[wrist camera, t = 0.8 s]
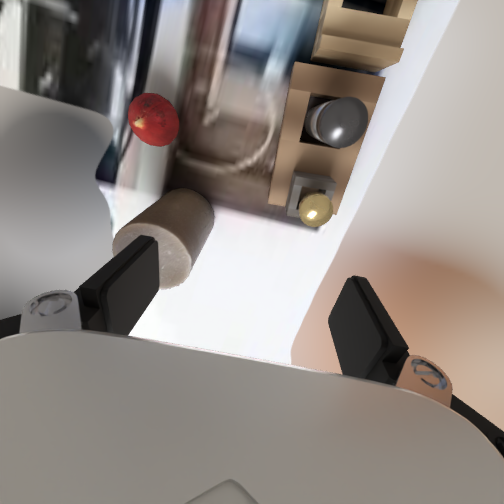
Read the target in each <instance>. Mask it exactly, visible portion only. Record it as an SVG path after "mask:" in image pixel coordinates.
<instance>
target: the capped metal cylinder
mask: <svg viewBox="0 0 504 504" xmlns="http://www.w3.org/2000/svg"><path fill="white" fill-rule="evenodd" d="M367 124H368V111H367V108H366V106H365V104H364V103H363V102H362V101H361V100H360V99H358V98H356V97H343V98H340V99H336V100H333V101H329V102H326V103H322V104H319V105H316V106H314V107H313V108H312V109H311V110H310V111H309V112H308V114H307V116H306V119H305V129H306V131H307V133H308V134H309V135H310V136H311V137H313V138H315V139H318V140H320V141H322V142H324V143H326V144H328V145H331V146H333V147H336V148H345V147H349V146H351V145H353V144H354V143H356V142H357V141H358V140H359V139H360V138H361V137H362V135H363V134H364V132H365V130H366V128H367Z"/></svg>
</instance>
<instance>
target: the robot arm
mask: <svg viewBox="0 0 504 504" xmlns="http://www.w3.org/2000/svg"><path fill="white" fill-rule="evenodd" d="M159 286H160V278H159V250H158V241H156V240H155V238H154V237H151V236H146V235H139V236H138V237H137V238H136V239H135V240H134V241H132V242H131V243H130V244H129V245H128V246H127V247H125V248H124V249H123V250H122V251H121V252H119V253H118V254H117V255H116V256H115V257H114V258H112V259H111V260H110V261H109V262H108V263H106V264H105V265H104V266H103V267H102V268H101V269H99V270H98V271H97V272H96V273H95V274H93V275H92V276H91V277H90V278H89V279H88V280H86V281H85V282H84V283H83V284H82V285H80V286H79V288H78V289H77V290H76V291H75V292H71V291H67V290H55V291H50V292H46V293H43V294H41V295H38V296H36V297H34V298H33V299H31V300H30V301H28V302H27V303H26V305H25V306H24V308H23V310H22V314H20V315H16V316H13V317H9V318H6V319H2V320H0V504H504V432H503V431H502V430H501V429H499V428H498V427H497V426H495V425H494V424H493V423H491V422H490V421H488V420H487V419H486V418H484V417H483V416H482V415H480V414H479V413H477V412H476V411H475V410H473V409H472V408H471V407H469V406H468V405H466V404H465V403H464V402H463V401H461V400H460V399H458V398H457V397H456V396H454V395H453V394H452V390H453V389H452V383H451V381H450V379H449V378H448V376H447V375H446V374H445V373H444V372H443V370H441V369H440V368H439V367H438V366H437V365H436V364H434V363H433V362H431V361H430V360H428V359H426V358H424V357H421V356H417V355H411V356H410V355H409V353H408V351H407V350H408V349H409V347H408V345H407V344H406V342H405V341H404V339H403V337H402V336H401V334H400V332H399V331H398V329H397V327H396V326H395V324H394V323H393V321H392V319H391V318H390V316H389V315H388V313H387V311H386V310H385V308H384V306H383V305H382V303H381V301H380V300H379V298H378V296H377V295H376V293H375V292H374V290H373V288H372V287H371V285H370V283H369V282H368V280H367V279H366V278H364V277H359V276H352V277H351V278H348V279H347V280H346V282H345V284H344V286H343V288H342V291H341V293H340V295H339V297H338V299H337V301H336V303H335V305H334V307H333V309H332V311H331V314H330V315H329V318H328V324H329V328H330V331H331V335H332V338H333V342H334V345H335V349H336V352H337V356H338V359H339V363H340V367H341V370H342V373H343V375H341V374H337V373H331V372H326V371H321V370H316V369H310V368H305V367H300V366H294V365H289V364H284V363H278V362H273V361H267V360H262V359H257V358H251V357H246V356H240V355H235V354H229V353H224V352H218V351H213V350H207V349H202V348H196V347H190V346H185V345H179V344H173V343H168V342H162V341H156V340H151V339H145V338H138V337H132V336H128V335H129V333H130V332H131V330H132V329H133V327H134V326H135V324H136V323H137V321H138V320H139V318H140V317H141V315H142V314H143V313H144V311H145V310H146V308H147V307H148V305H149V304H150V302H151V301H152V299H153V298H154V296H155V295H156V293H157V292H158V290H159Z"/></svg>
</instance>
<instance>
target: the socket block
mask: <svg viewBox="0 0 504 504" xmlns="http://www.w3.org/2000/svg"><path fill="white" fill-rule="evenodd" d="M384 81H385V77H380V76H374V75H368V74H363V73H357V72H351V71H346V70H340V69H334V68H329V67H323V66H317V65H311V64H306V63H300V62H295V63H294V65H293V68H292V72H291V77H290V83H289V88H288V93H287V99H286V104H285V109H284V115H283V120H282V125H281V131H280V136H279V141H278V147H277V152H276V157H275V163H274V168H273V173H272V179H271V184H270V189H269V195H268V203H269V204H275V205H281V206H285V208H286V215H287V216H293V217H299V218H300V214H299V204H300V202H301V200H302V199H303V197H304V195H305V194H306V193H308V192H319V193H323V194H325V195H326V196H327V197H328V198H329V200H330V201H331V202H332V204H333V214H335V215H336V214H337V211H338V209H339V206H340V203H341V200H342V198H343V195H344V192H345V189H346V186H347V184H348V181H349V178H350V175H351V173H352V170H353V167H354V164H355V162H356V159H357V156H358V153H359V150H360V148H361V145H362V142H363V139H364V137H365V134H366V131H367V128H368V125H369V123H370V120H371V117H372V114H373V112H374V109H375V106H376V103H377V101H378V98H379V95H380V92H381V89H382V87H383V84H384ZM310 96H313V97H319V98H325V99H330V100H336V99H340V98H343V97H356V98H358V99H360V100H361V101H362V102H363V103H364V104H365V106H366V108H367V111H368V124H367V128H366V130H365V132H364V134H363V135H362V137H361V138H360V139H359V140H358V141H357V142H356V143H354V144H353V145H351V146H349V147H345V148H336V147H333V146H330V145H324V144H318V143H312V142H306V141H301V140H300V137H301V132H302V128H303V124H304V119H305V115H306V111H307V106H308V102H309V98H310Z"/></svg>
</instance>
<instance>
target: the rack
mask: <svg viewBox="0 0 504 504" xmlns="http://www.w3.org/2000/svg"><path fill="white" fill-rule="evenodd" d="M417 1H418V0H387V2H386V5H385V8H384V12H383V15H381V14H375V13H369V12H364V11H358V10H353V9H347V8H341V7H342V3H343V0H324V1H323V5H322V10H321V15H320V19H319V24H318V28H317V33H316V38H315V42H314V47H313V51H312V56H311V61H313V62H319V63H325V64H330V65H336V66H342V67H347V68H353V69H359V70H364V71H370V72H377V71H380V70H382V69H384V68H386V67H389V66H391V65H393V64H395V63H398V62H399V61H400V58H401V55H402V53H403V50H404V49H403V48H400V47H401V45H402V42H403V39H404V36H405V34H406V31H407V28H408V25H409V23H410V20H411V17H412V15H413V12H414V9H415V6H416V4H417Z"/></svg>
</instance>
